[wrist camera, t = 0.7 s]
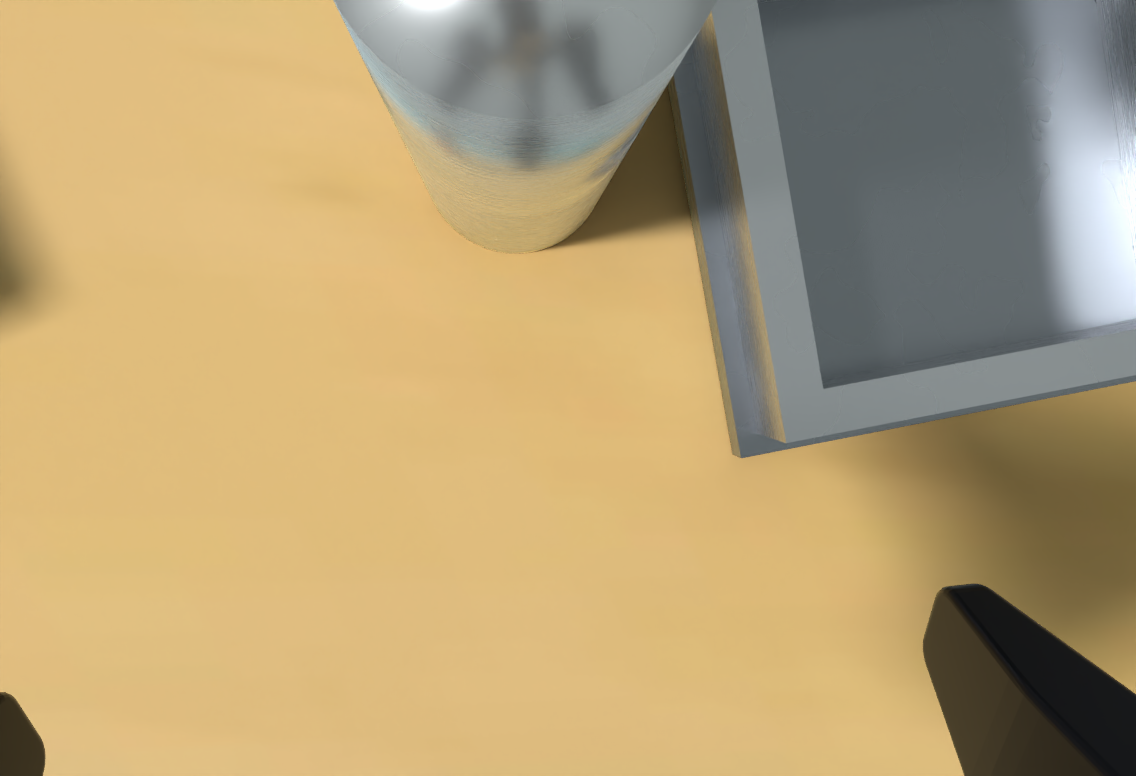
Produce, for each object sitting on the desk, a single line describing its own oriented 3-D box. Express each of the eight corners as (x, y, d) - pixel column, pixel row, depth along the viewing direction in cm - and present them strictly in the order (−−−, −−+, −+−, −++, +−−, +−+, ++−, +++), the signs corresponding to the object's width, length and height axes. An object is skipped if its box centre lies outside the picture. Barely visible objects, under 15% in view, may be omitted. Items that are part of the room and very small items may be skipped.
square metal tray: (1185, 366, 23) (1287, 368, 20) (732, 454, 22) (768, 470, 19) (1115, -106, 22) (1209, -177, 19) (647, -31, 22) (670, -93, 19)
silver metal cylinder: (620, 236, 22) (771, 80, 9) (442, 268, 21) (351, 151, 9) (587, 56, 22) (697, -352, 9) (407, 86, 21) (265, -292, 9)
